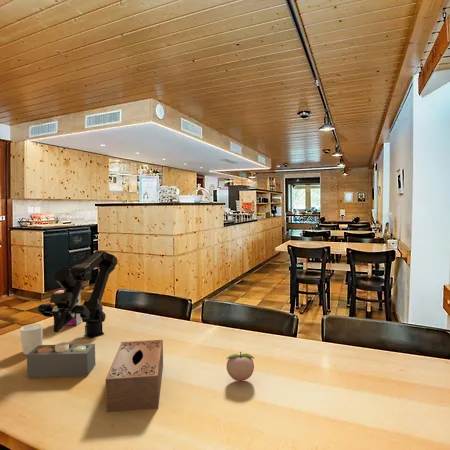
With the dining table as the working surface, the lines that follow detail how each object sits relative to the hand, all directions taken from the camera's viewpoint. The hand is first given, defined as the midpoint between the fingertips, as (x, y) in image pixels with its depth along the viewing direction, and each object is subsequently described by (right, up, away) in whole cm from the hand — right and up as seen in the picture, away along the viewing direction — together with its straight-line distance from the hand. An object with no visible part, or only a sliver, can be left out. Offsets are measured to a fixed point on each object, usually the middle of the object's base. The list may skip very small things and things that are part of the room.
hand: (55, 332), depth 124 cm
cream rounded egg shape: (+5, -7, -5) cm, 10 cm away
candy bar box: (-14, -9, +42) cm, 45 cm away
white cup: (-15, -11, +11) cm, 22 cm away
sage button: (+11, -8, -5) cm, 15 cm away
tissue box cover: (+35, -13, -15) cm, 40 cm away
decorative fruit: (+68, -12, -13) cm, 70 cm away
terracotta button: (-1, -8, -6) cm, 10 cm away
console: (+5, -12, -5) cm, 14 cm away
